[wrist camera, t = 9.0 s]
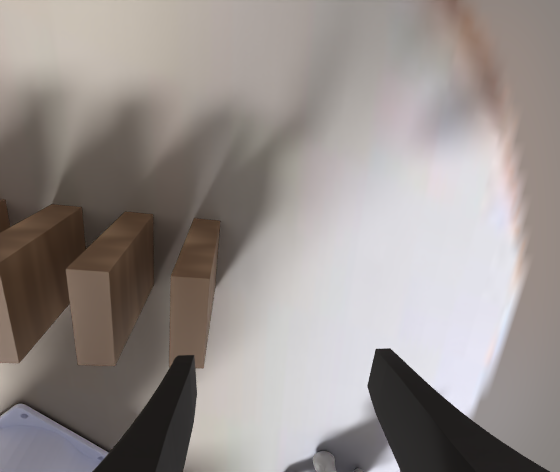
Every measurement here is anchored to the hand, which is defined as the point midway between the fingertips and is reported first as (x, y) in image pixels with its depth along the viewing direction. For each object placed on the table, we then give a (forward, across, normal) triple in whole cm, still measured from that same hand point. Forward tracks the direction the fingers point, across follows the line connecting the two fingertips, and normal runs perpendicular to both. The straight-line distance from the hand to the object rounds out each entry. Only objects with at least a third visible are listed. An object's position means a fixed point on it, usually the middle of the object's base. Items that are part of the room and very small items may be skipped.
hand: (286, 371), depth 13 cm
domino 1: (+10, +12, -1) cm, 15 cm away
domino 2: (+10, +8, -1) cm, 13 cm away
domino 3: (+10, +4, 0) cm, 10 cm away
